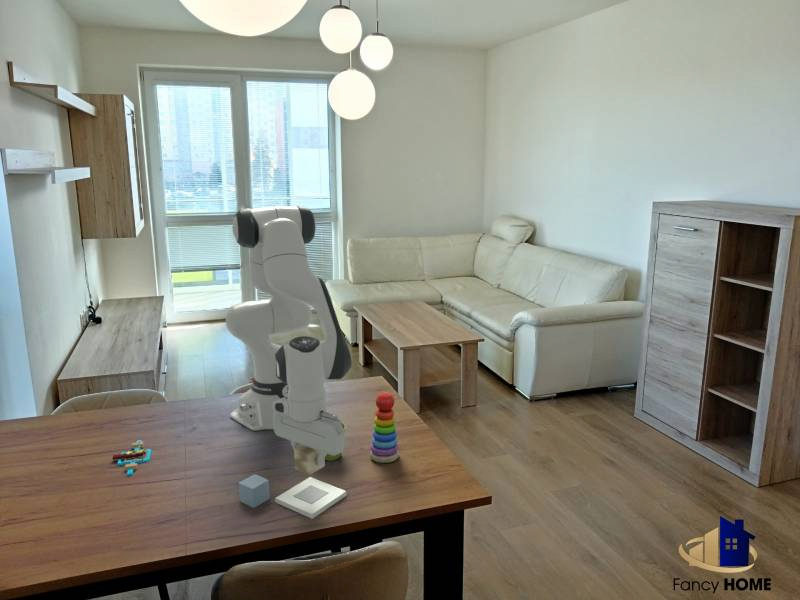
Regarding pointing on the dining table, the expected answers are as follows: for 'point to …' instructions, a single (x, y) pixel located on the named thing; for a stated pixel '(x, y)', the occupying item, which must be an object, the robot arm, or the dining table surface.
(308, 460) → the maple block
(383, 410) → the stacking toy
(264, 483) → the slate blue block
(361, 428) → the dining table surface
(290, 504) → the plate
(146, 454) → the gear mechanism
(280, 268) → the robot arm
